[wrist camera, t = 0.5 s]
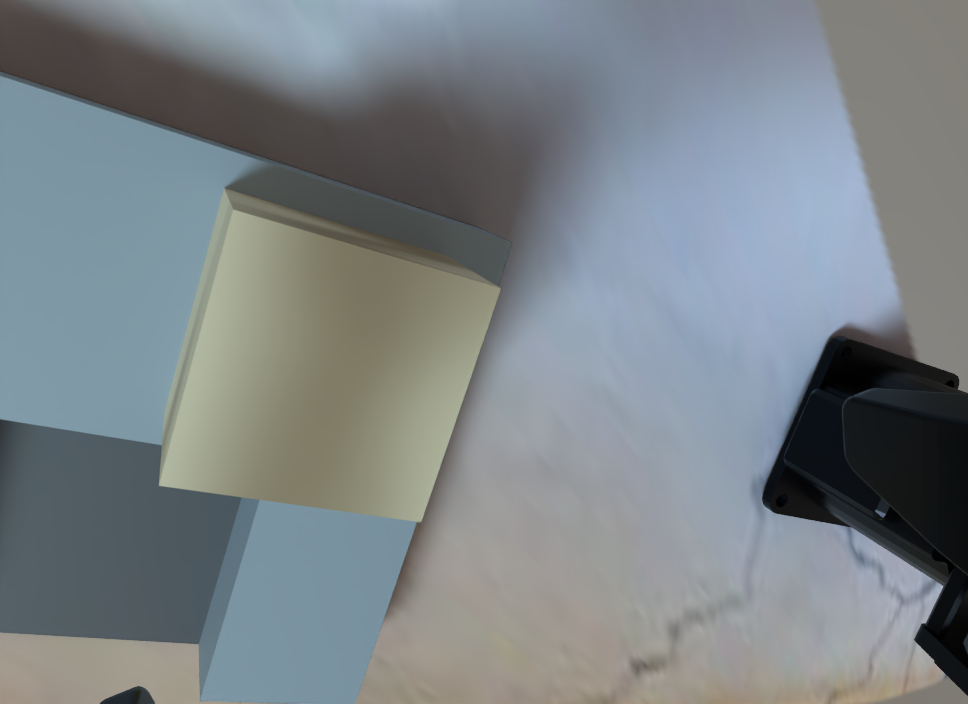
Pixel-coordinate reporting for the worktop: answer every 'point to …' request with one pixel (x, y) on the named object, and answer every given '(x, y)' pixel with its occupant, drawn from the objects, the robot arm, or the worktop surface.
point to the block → (321, 364)
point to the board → (141, 405)
